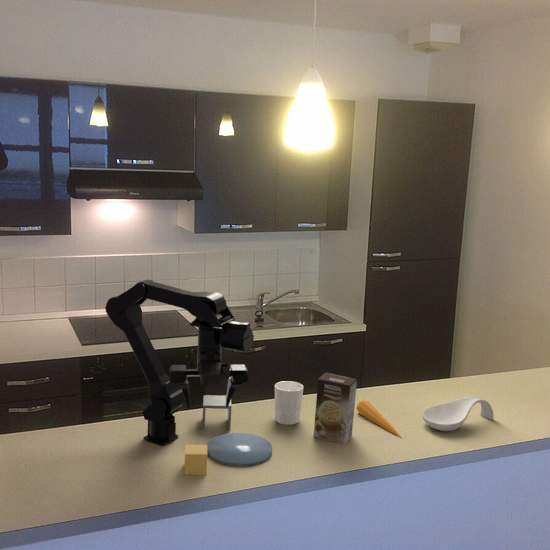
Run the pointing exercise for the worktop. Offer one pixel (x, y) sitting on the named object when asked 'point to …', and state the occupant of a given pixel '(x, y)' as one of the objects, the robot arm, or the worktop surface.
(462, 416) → the spoon rest
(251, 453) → the dish
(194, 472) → the block
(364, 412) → the carrot
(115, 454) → the worktop surface
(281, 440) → the worktop surface
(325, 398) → the coffee box
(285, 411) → the white cup
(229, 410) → the cover
